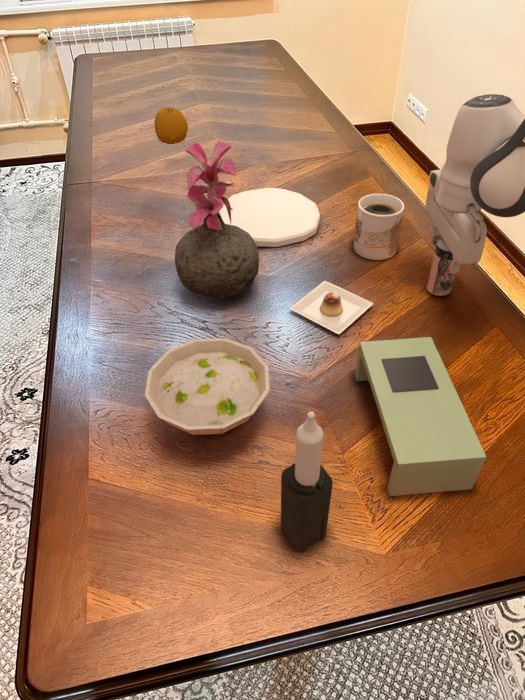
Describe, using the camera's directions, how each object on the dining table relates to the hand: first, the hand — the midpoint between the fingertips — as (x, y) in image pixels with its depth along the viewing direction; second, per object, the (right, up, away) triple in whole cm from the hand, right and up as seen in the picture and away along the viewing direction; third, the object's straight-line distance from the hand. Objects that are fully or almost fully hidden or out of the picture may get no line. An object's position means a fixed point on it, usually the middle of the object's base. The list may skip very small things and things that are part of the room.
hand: (444, 257), depth 105 cm
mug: (-10, +6, +18) cm, 22 cm away
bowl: (-44, -29, -17) cm, 55 cm away
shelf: (-12, -30, -19) cm, 38 cm away
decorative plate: (-34, +14, +27) cm, 46 cm away
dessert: (-22, -10, +2) cm, 24 cm away
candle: (-30, -43, -32) cm, 61 cm away
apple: (-63, +44, +60) cm, 97 cm away
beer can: (+1, -6, +6) cm, 8 cm away
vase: (-45, -5, +8) cm, 46 cm away
